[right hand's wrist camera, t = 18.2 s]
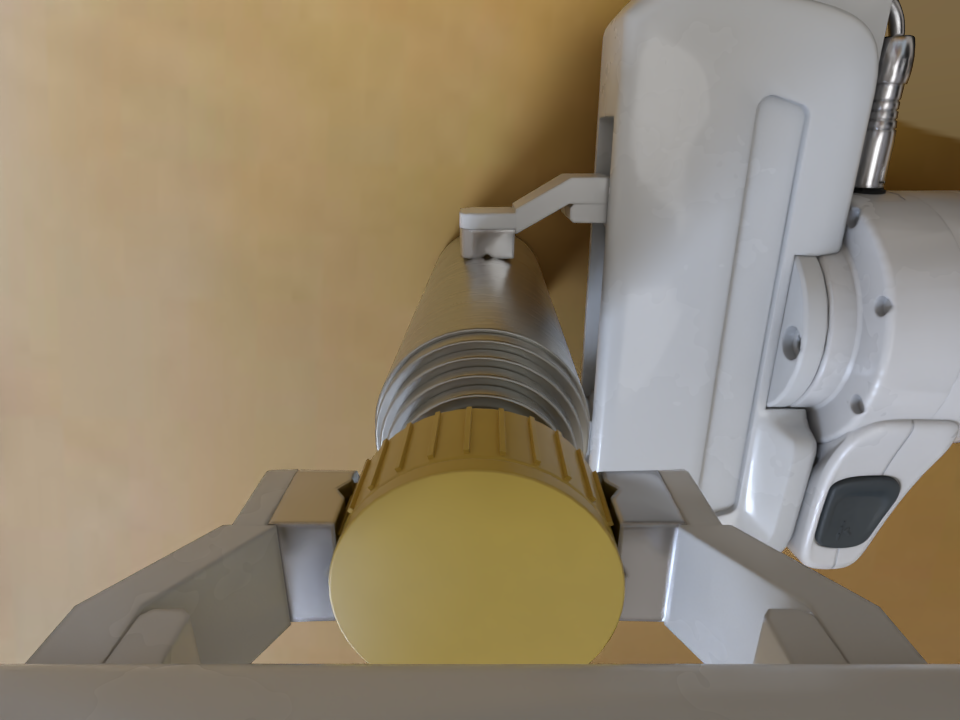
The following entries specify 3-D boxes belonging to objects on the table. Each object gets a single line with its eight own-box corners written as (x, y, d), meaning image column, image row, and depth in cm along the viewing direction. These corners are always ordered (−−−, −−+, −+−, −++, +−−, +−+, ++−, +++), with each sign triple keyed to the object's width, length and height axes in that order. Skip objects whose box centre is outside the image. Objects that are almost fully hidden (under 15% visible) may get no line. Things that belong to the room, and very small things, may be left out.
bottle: (518, 348, 27) (562, 715, 10) (419, 314, 26) (288, 639, 9) (558, 250, 25) (693, 490, 8) (453, 212, 25) (367, 383, 8)
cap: (447, 352, 9) (438, 405, 7) (658, 495, 10) (695, 574, 8) (305, 537, 10) (268, 619, 9) (503, 649, 11) (505, 744, 9)
